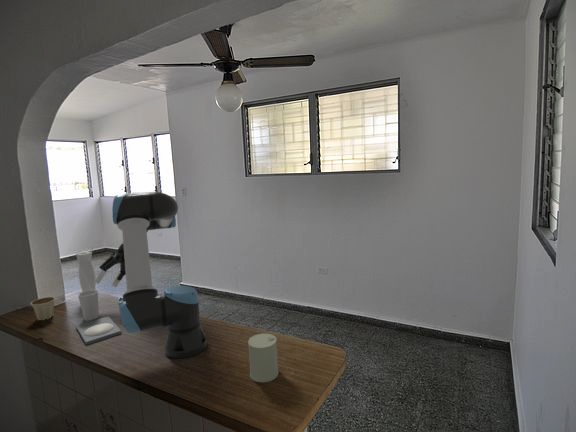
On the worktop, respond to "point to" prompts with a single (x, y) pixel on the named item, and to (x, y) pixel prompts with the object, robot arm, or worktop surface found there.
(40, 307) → the flower pot
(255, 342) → the can
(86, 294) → the cup
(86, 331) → the board
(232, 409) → the worktop surface
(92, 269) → the skyscraper
